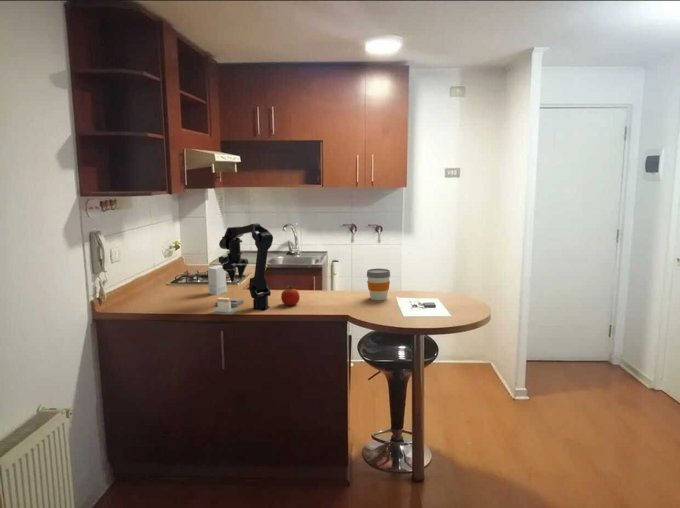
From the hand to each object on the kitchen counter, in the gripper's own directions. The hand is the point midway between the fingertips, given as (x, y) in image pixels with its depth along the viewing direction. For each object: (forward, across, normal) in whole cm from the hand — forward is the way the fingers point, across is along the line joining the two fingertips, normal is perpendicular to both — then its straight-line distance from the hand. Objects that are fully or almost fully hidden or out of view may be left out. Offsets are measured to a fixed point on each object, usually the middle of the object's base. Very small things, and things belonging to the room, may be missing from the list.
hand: (236, 279), depth 266 cm
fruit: (+12, 0, +30) cm, 32 cm away
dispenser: (+12, +7, -1) cm, 14 cm away
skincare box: (+12, -16, -20) cm, 28 cm away
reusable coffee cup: (+12, -22, +72) cm, 76 cm away
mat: (+12, +20, +3) cm, 24 cm away
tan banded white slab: (+11, +20, +3) cm, 23 cm away
